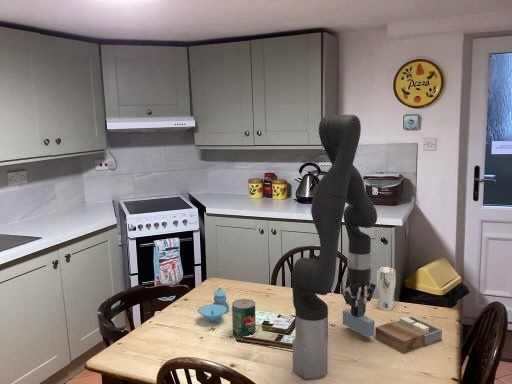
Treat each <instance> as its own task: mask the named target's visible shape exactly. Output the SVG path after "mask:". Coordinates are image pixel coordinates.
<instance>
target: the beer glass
mask: <svg viewBox="0 0 512 384" xmlns="http://www.w3.org/2000/svg"><path fill="white" fill-rule="evenodd" d="M396 278H397V276H396V269H395V268H393V267H390V266H389V267H388V266H382V267H378V268H377V271H376V287H377V293H378V294H377V295H378V299H377V300H378V302H377V306H376V307H377V308H378V309H379V310H382V311H391V310H394V308H395V307H394V302H393V301H394V293H395V289H396V282H397V281H396V280H397V279H396Z"/></svg>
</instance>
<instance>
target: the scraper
mask: <svg viewBox="0 0 512 384" xmlns="http://www.w3.org/2000/svg"><path fill="white" fill-rule="evenodd" d="M354 296H355V295H354ZM354 302H355V300H354ZM342 325H344V326H345V327H347V328H348V329H351V330H353V331H355V332H357V333H358V334H360V335H362V336H364V337H366V338H369V337H374V336H375V320H374V319H372V318H371V317H368V316H366V315H364V296H363V295H360V299H359V300H358V316H357V317H354V316H352V314H351V307H350V308H349V307H348V308H347V309H343V310H342Z"/></svg>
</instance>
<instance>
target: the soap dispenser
mask: <svg viewBox="0 0 512 384" xmlns="http://www.w3.org/2000/svg"><path fill="white" fill-rule="evenodd" d="M213 295H214V297H213V302H212V303H211V304H207V305H202V306H201V307H199V308H198V309H197V312H198V314H199V315H201V316H202V317H203V318H204V319H205V320H206V321H208V322H209V323H211V324H212V323H216V322H217V321H218V320H220V318H221V317H222V316H223V315H225V314H228V313H229V312H230V305H229V303H228V302H227V296H226V295H227V293H226V291H225V290H223V288H222V287H218V288H217V289H216V290H215V291H214V292H213Z"/></svg>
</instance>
